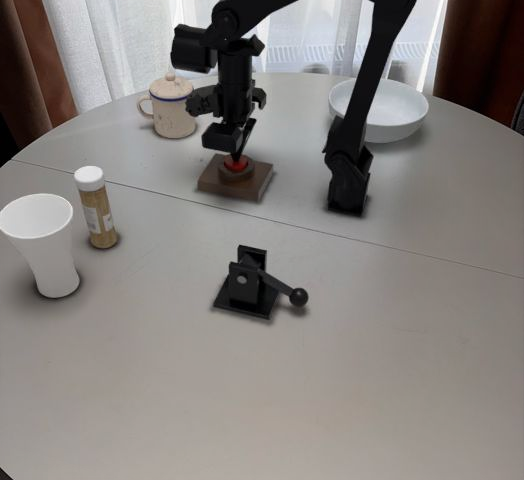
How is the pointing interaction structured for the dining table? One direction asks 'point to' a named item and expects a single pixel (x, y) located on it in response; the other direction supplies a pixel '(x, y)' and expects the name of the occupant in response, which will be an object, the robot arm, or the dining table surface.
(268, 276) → the lever
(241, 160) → the button
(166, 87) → the teacup with lid
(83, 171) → the sprinkles bottle
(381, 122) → the serving bowl
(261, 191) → the switch block
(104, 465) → the dining table surface
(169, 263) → the dining table surface
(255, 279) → the bracket
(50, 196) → the cup
